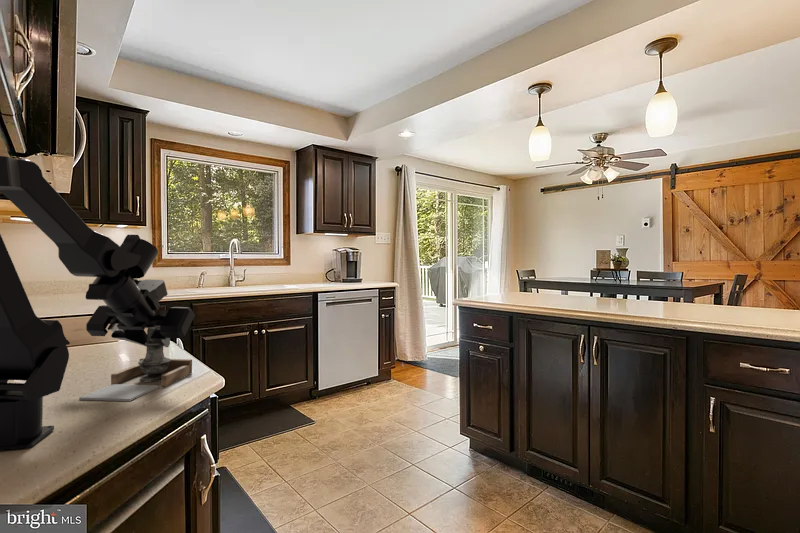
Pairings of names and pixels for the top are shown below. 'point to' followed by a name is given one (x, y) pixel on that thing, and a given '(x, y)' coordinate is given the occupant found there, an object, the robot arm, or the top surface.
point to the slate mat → (119, 392)
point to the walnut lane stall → (172, 373)
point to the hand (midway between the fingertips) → (159, 345)
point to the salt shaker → (153, 360)
